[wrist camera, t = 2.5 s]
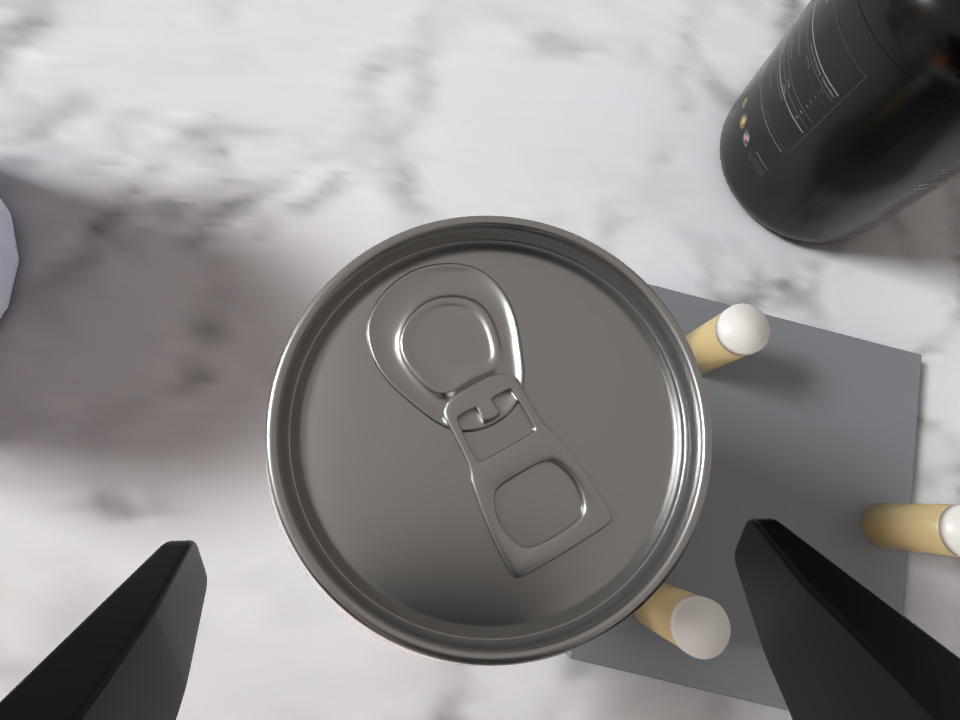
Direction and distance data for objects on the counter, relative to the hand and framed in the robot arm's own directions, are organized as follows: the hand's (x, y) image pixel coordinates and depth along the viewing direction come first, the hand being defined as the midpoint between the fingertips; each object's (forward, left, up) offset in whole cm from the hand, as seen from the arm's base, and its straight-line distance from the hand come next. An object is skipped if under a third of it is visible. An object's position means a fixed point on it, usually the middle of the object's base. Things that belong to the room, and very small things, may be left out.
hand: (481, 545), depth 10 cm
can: (+1, -1, -9) cm, 10 cm away
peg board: (-6, -7, -9) cm, 13 cm away
